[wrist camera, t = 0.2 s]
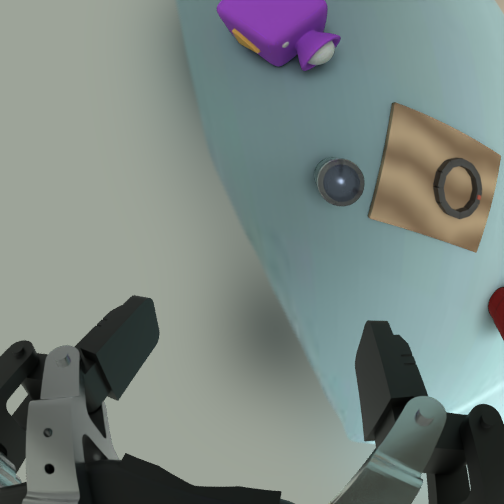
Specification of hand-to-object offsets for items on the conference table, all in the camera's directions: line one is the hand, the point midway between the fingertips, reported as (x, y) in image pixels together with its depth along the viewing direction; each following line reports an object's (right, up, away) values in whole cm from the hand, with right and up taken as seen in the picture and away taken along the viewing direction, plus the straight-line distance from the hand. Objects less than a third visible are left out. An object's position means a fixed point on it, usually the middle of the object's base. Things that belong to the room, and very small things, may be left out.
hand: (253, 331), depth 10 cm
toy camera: (+5, +31, +18) cm, 36 cm away
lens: (+10, +13, +23) cm, 28 cm away
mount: (+26, +13, +20) cm, 36 cm away
